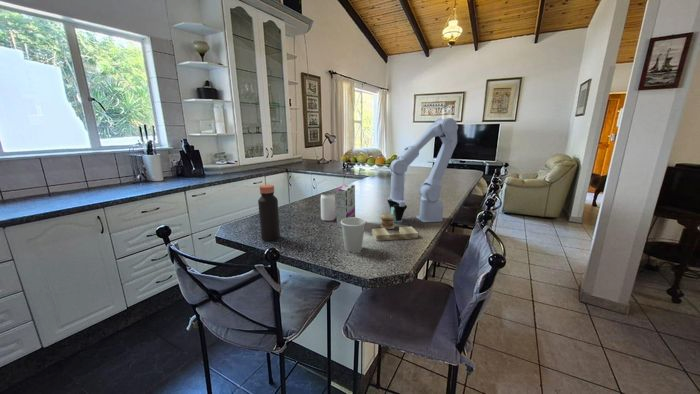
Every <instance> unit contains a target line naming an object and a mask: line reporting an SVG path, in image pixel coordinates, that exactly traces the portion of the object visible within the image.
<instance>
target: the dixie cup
mask: <svg viewBox="0 0 700 394" xmlns="http://www.w3.org/2000/svg"><path fill="white" fill-rule="evenodd" d="M366 222H367V221H366V220H365V219H363V218H362V217H357V216H355V217H350V218H345V219H343V220H341V224H342V228H341V230H342V231H341V232H342V236H343V244H344V250H345V252H347V253H348V252H349V253H359V252H360V251H361V252H362V248H363V247H362V246H363V241H364V240H363V239H364V233H365V226H366Z"/></svg>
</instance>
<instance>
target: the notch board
mask: <svg viewBox="0 0 700 394" xmlns="http://www.w3.org/2000/svg"><path fill="white" fill-rule="evenodd" d="M398 229H399V230H398V232H399V233H398V232H397V233H395V232H394V233H389V232H388V230H386V229H385V228H378V227H377V228H371V234H372V236H373V238H374V239H375V240H376V241H390V240H391V241H393V240H405V239H406V240H408V239H409V240H410V239H418V238H419V232H418V231H417V230H416V229H415V228H413V226H400V227H398Z"/></svg>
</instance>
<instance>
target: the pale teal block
mask: <svg viewBox="0 0 700 394" xmlns="http://www.w3.org/2000/svg"><path fill="white" fill-rule="evenodd" d="M390 214H393V215H395V209H394V207H391V211H390ZM402 222H403V219H402V220H401V221H396V215H395V219H393V224H394V223H395V224H397V223H402Z"/></svg>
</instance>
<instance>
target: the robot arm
mask: <svg viewBox="0 0 700 394" xmlns="http://www.w3.org/2000/svg"><path fill="white" fill-rule="evenodd" d="M458 129H459V125H458V123H457V122H456V120H455V119H454V118H452V117H447V118H437V119H435V121H434V122H433V123H431V124H430V125H429V127H428V128H427V129H426V130H425V131H424V132H423V134H422V135H421V136H420V137H419V139H417V140H416V142H415V143H414V144H413V145H409V146H405V147H404V150H403V151H402V152H401V154H400V155H397V156H396V159H393V160H392V161H391V163H390V165H389V170H390V171H391V172H390V194H389V197H387V204H388V207H389V210H390V212H391V207H394V209H395V215H396V221H401V220H402V221H403V215H404V213H405V211H406V210H407V208H408V205H407V204H406V202H405V176H406V175H405V174H406V172H407V171H408V167H410V165H411V164H412V163H413V162H414V161H415V160H416V159H417V158H418V157H419V156H420V151H421V150H422V149H423V148H424V147H425V146H426V145H427V144H428V143H429V142H430V141H432V139H433V138H435V137H439V139H440V140H441V142H442V143H441V147H440V148H439V151H438V153H437V156H436V158H435V161H434V163H433V166H432V167H431V170H430V173H429V175H428V177H427V178H426V179H424V182H423V183H422V184H421V185H420V187H419V189H418V194H419V195H420V196H421V197H420V203H419V215H416V216H415V217H416V218H417V219H418V220H419V221H420V222H421V223H437V222H438V223H439V222H441V223H442V222H444V220H443V215H444V214H443V213H444V204H443V201H442V200H440V199H441V198H440V197H441V190H442V188H443V187H442V186H443V185H442V182H441V181H442V179H443V177H444V174H445V172H446V171H447V167H448V165H449V163H450V160H451V159H452V156H453V153H454V151H455V149H456V146H457V144H458Z"/></svg>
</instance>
